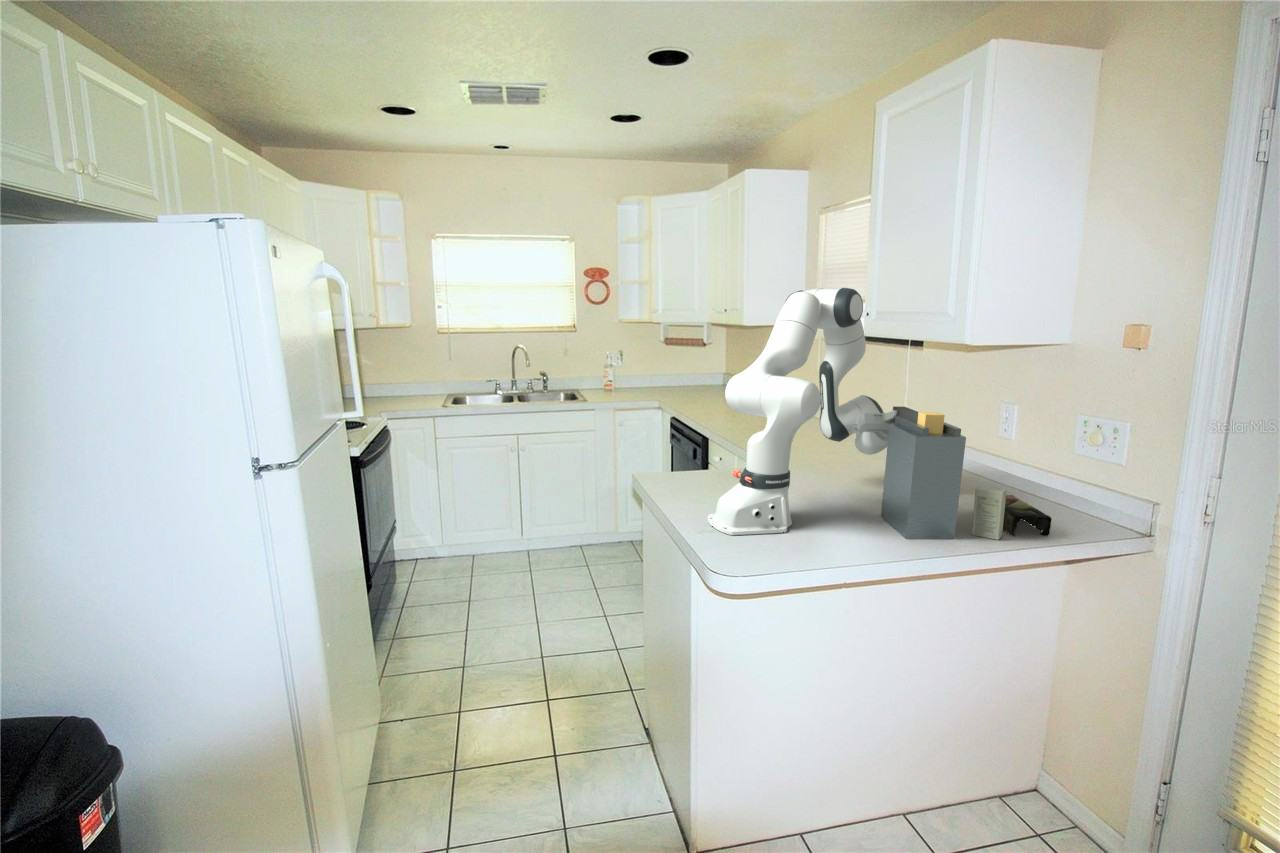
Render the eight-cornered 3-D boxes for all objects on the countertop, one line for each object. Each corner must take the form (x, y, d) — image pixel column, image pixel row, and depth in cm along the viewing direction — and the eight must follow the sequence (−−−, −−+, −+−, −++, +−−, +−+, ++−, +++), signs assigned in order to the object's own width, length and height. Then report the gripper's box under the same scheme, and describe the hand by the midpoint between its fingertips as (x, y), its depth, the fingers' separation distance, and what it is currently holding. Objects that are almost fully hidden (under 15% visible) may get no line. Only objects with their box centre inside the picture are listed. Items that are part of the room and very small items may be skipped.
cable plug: (889, 417, 171) (891, 401, 170) (906, 417, 171) (907, 401, 170) (923, 433, 150) (925, 414, 149) (942, 433, 150) (944, 415, 150)
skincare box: (1002, 536, 154) (1008, 489, 152) (998, 540, 151) (1004, 493, 149) (974, 529, 158) (979, 484, 156) (969, 534, 155) (975, 488, 153)
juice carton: (973, 510, 174) (976, 490, 173) (1009, 512, 173) (1012, 491, 172) (1010, 538, 154) (1013, 515, 153) (1050, 539, 154) (1054, 516, 152)
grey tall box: (880, 516, 167) (890, 416, 162) (924, 517, 167) (935, 416, 162) (905, 538, 152) (917, 428, 146) (954, 539, 152) (967, 428, 146)
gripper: (848, 418, 180) (865, 401, 167) (918, 419, 181) (940, 402, 167) (851, 438, 178) (868, 423, 165) (920, 439, 178) (943, 424, 165)
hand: (904, 412), depth 166 cm, fingers open, 3 cm apart
